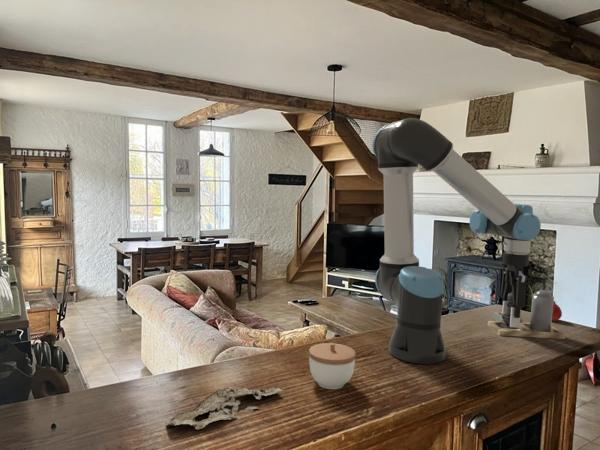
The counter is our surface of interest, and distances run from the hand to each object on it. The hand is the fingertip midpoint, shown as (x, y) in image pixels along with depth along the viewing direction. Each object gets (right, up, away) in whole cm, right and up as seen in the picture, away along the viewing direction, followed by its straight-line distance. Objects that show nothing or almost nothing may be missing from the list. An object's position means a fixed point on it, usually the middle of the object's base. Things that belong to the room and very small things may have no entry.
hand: (510, 323), depth 145 cm
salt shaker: (0, -1, 0) cm, 1 cm away
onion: (+21, -3, +15) cm, 26 cm away
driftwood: (-82, -6, -55) cm, 99 cm away
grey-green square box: (+4, -2, +12) cm, 13 cm away
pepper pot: (+9, -3, 0) cm, 10 cm away
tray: (+5, -3, 0) cm, 6 cm away
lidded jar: (-61, -5, -41) cm, 73 cm away
